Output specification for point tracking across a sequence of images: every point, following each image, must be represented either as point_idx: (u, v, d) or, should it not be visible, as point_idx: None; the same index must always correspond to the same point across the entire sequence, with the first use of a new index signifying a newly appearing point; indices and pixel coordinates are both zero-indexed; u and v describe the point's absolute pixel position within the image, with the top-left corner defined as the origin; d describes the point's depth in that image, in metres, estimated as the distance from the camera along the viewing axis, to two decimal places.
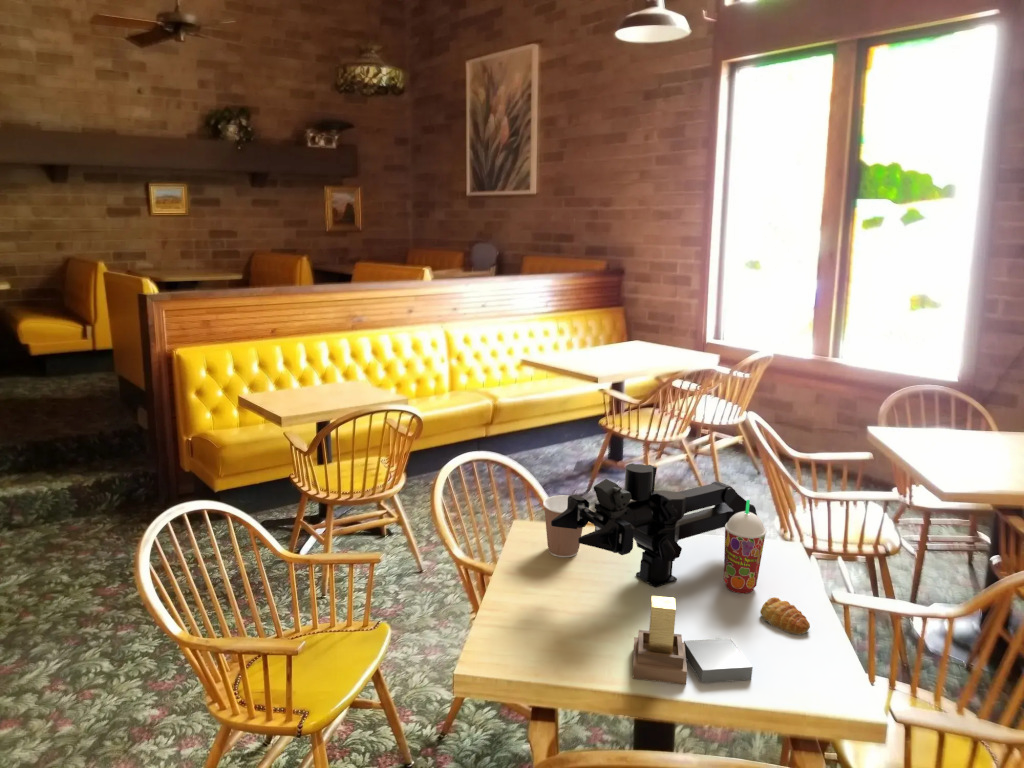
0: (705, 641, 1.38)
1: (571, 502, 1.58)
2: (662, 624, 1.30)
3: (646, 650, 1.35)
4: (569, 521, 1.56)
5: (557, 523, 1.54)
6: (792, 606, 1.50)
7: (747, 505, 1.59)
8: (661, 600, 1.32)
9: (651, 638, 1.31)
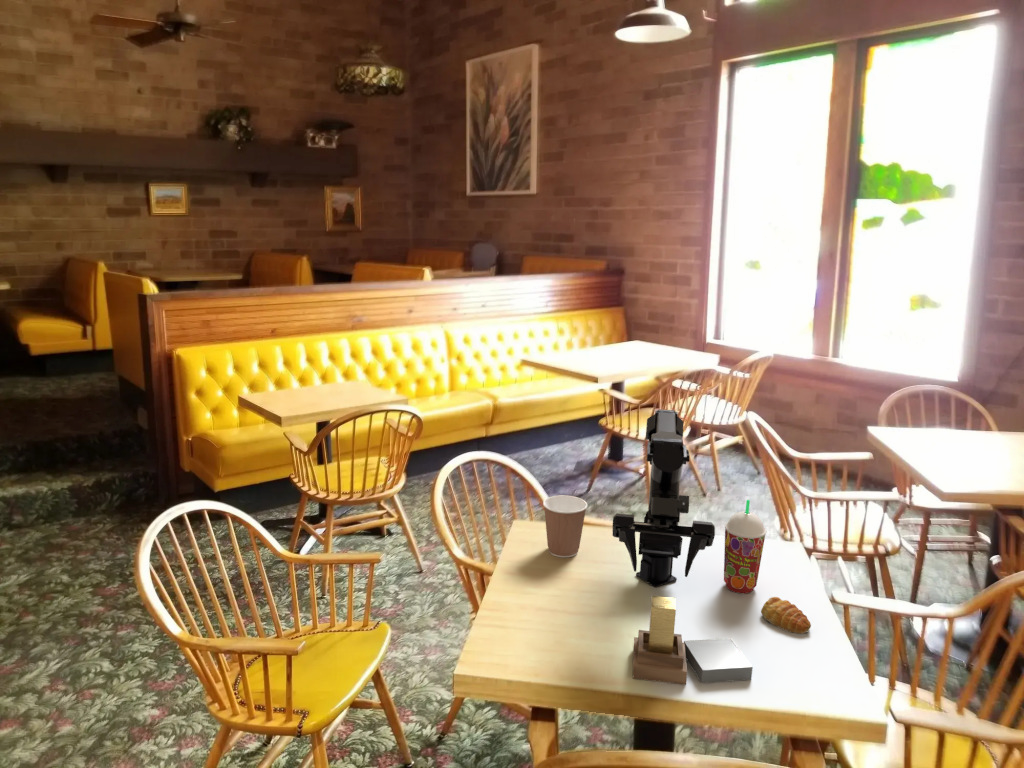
0: (705, 641, 1.38)
1: (626, 532, 1.41)
2: (662, 624, 1.30)
3: (646, 650, 1.35)
4: None
5: None
6: (793, 605, 1.50)
7: (747, 505, 1.59)
8: (661, 600, 1.32)
9: (651, 638, 1.31)
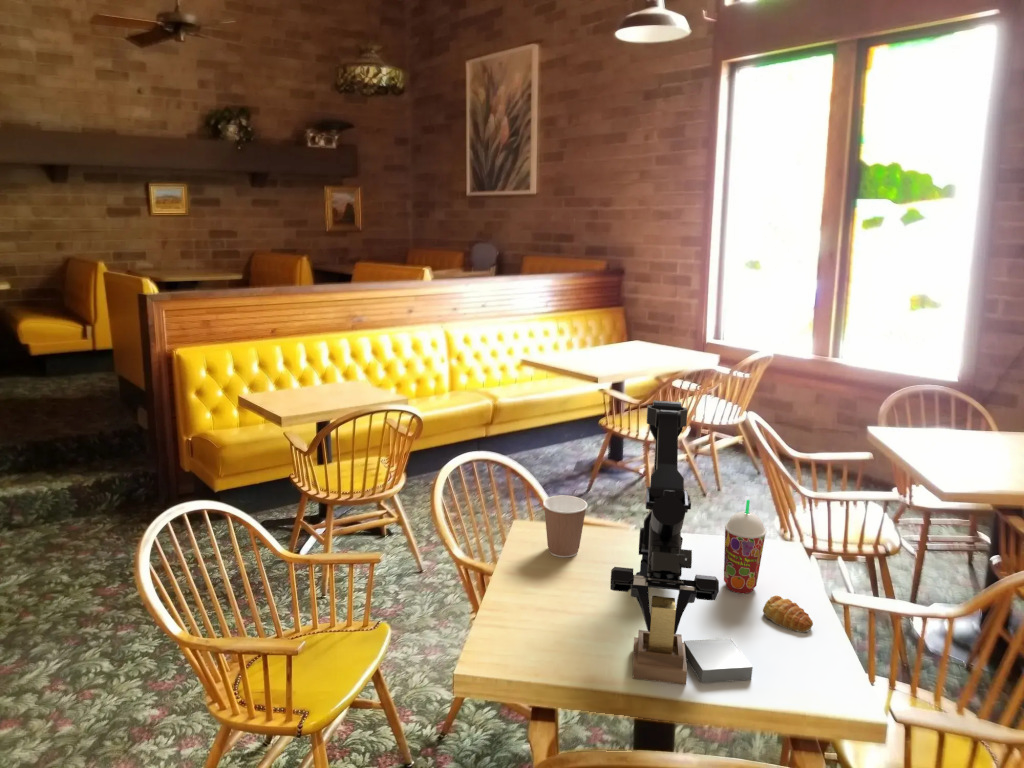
0: (705, 641, 1.38)
1: (639, 589, 1.33)
2: (662, 624, 1.30)
3: (646, 650, 1.35)
4: None
5: None
6: (794, 604, 1.51)
7: (747, 505, 1.59)
8: (661, 600, 1.32)
9: (651, 638, 1.31)
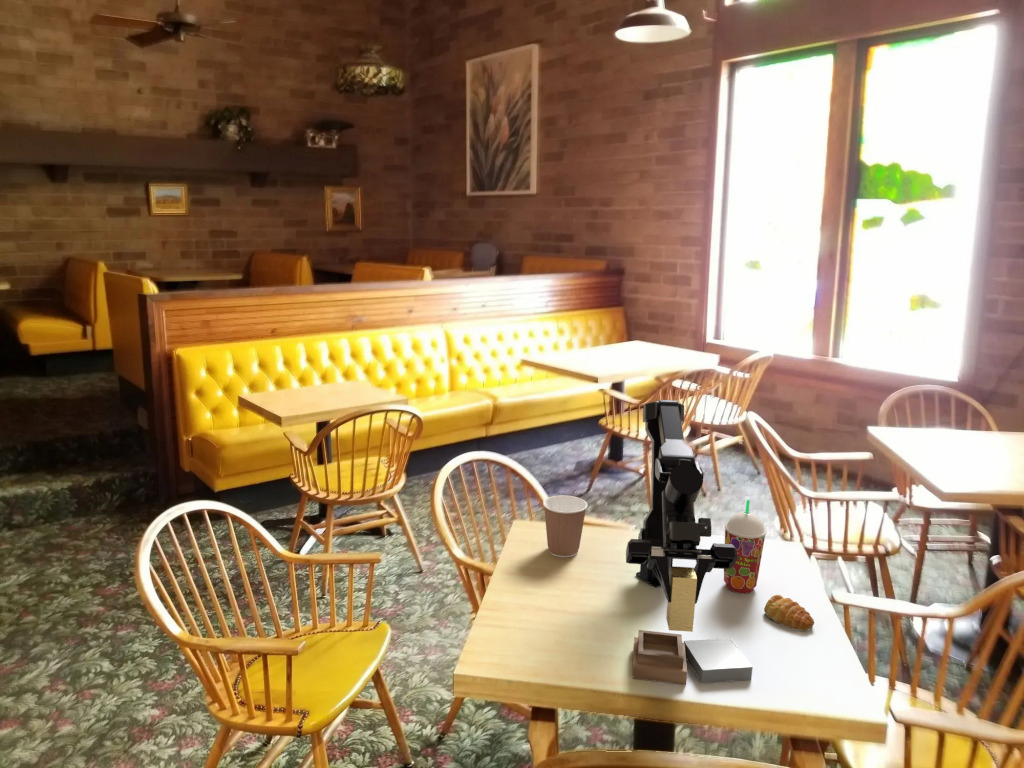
0: (705, 641, 1.38)
1: (658, 560, 1.31)
2: (683, 594, 1.29)
3: (646, 650, 1.35)
4: None
5: None
6: (795, 603, 1.51)
7: (747, 505, 1.59)
8: (680, 570, 1.31)
9: (672, 609, 1.30)
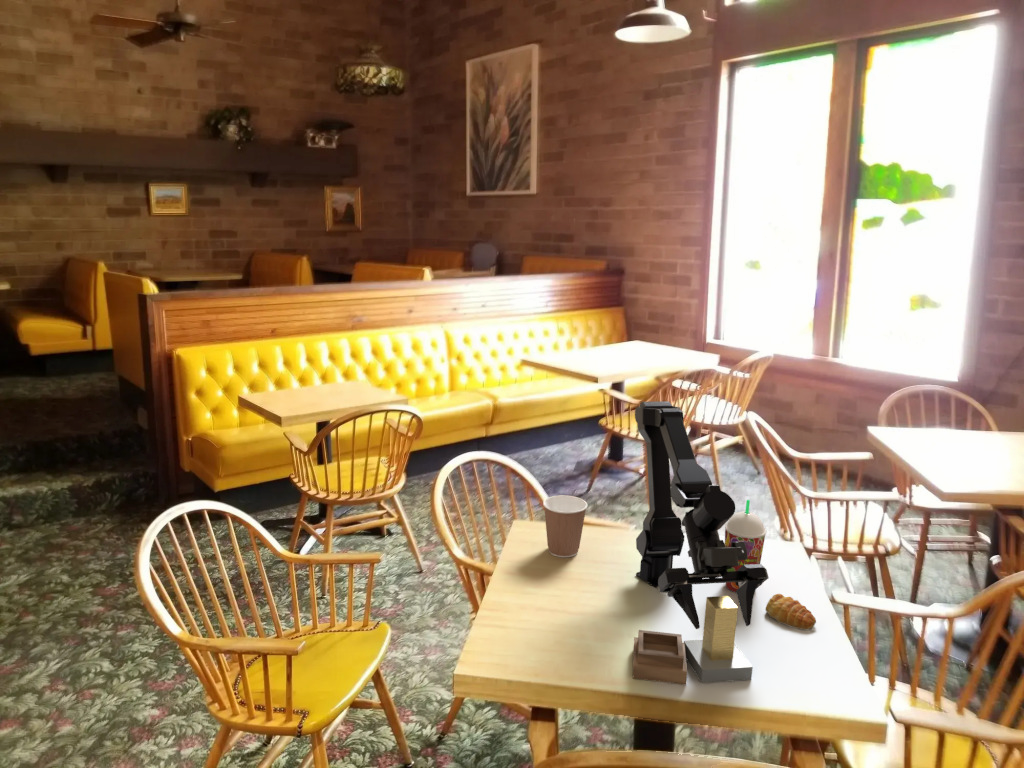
0: None
1: (683, 588, 1.32)
2: (724, 624, 1.31)
3: (646, 650, 1.35)
4: None
5: None
6: (796, 601, 1.51)
7: (747, 505, 1.59)
8: (718, 600, 1.33)
9: (714, 639, 1.31)
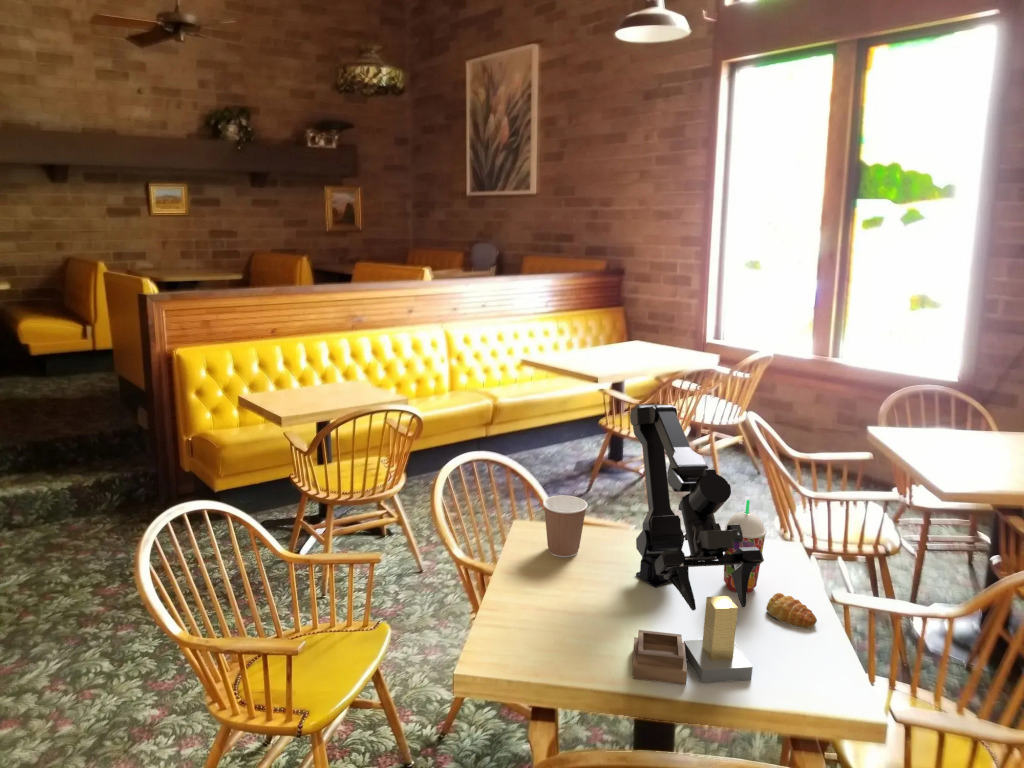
0: None
1: (680, 570, 1.33)
2: (724, 624, 1.31)
3: (646, 650, 1.35)
4: None
5: None
6: (797, 601, 1.52)
7: (747, 505, 1.59)
8: (718, 600, 1.33)
9: (714, 639, 1.31)
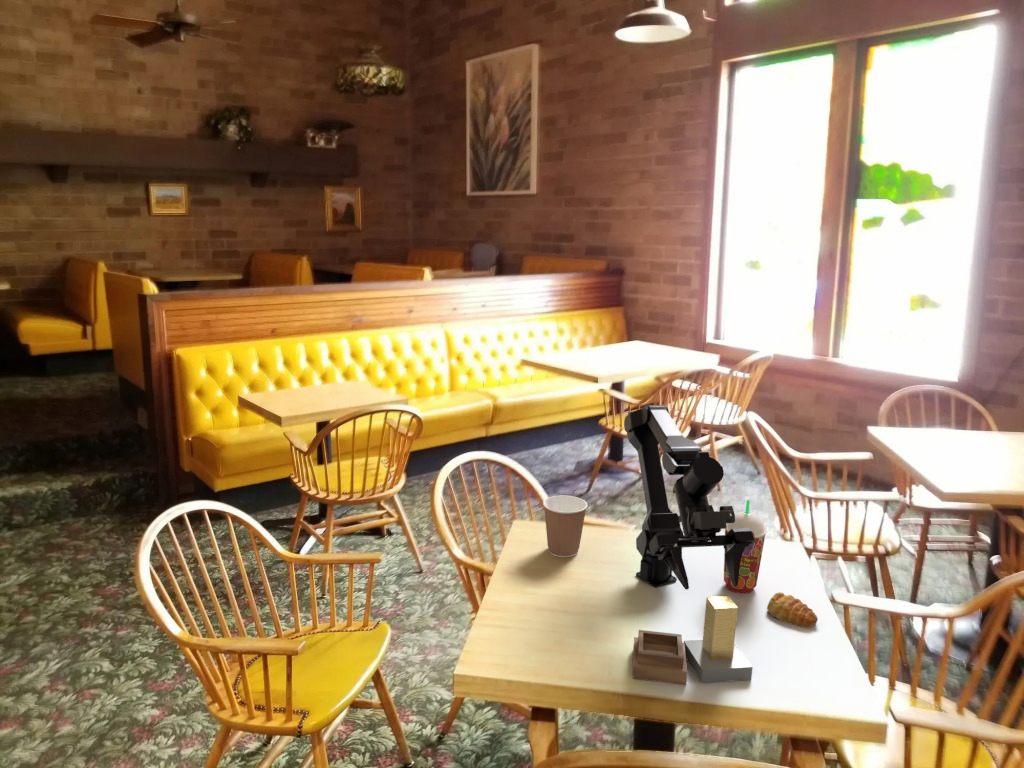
0: None
1: (673, 550, 1.36)
2: (724, 624, 1.31)
3: (646, 650, 1.35)
4: None
5: None
6: (798, 600, 1.52)
7: (747, 505, 1.59)
8: (718, 600, 1.33)
9: (714, 639, 1.31)
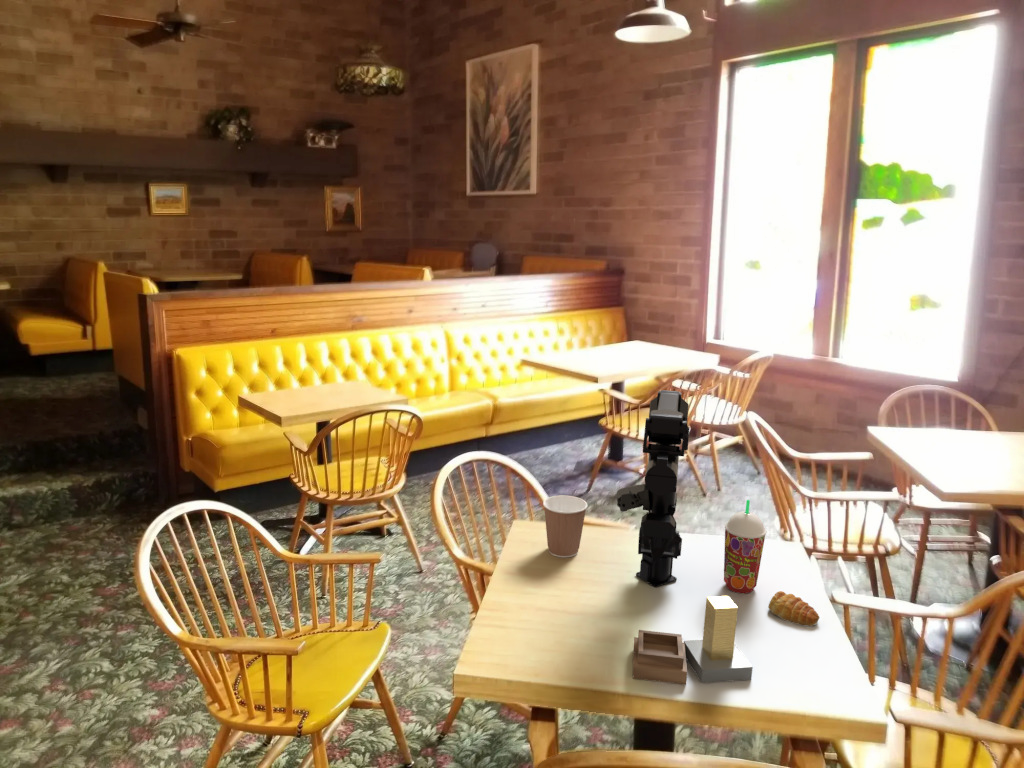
0: None
1: None
2: (724, 624, 1.31)
3: (646, 650, 1.35)
4: None
5: None
6: (799, 598, 1.53)
7: (747, 505, 1.59)
8: (718, 600, 1.33)
9: (714, 639, 1.31)
